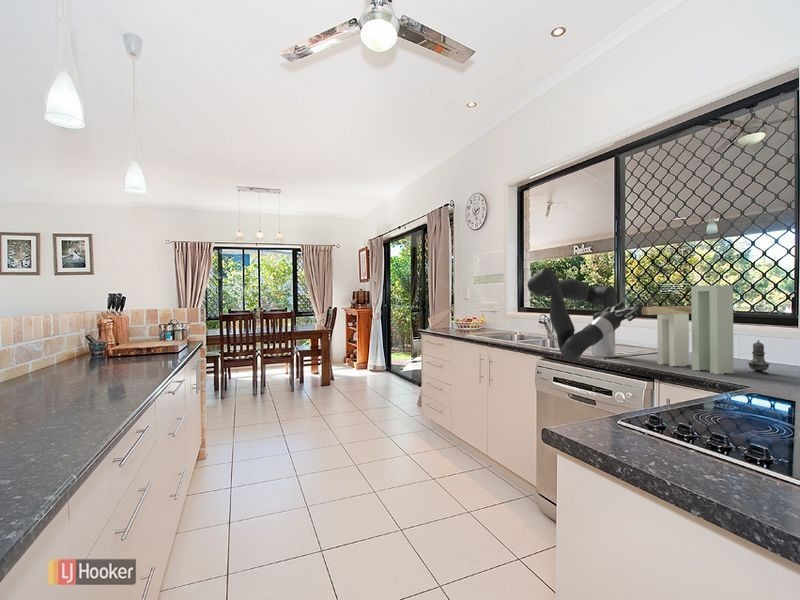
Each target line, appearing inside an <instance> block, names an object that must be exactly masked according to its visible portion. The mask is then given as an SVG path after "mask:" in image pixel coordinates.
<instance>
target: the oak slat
mask: <svg viewBox="0 0 800 600" xmlns="http://www.w3.org/2000/svg"><path fill="white" fill-rule="evenodd" d="M660 314H689V315H690V314H692V308H691V305H675V306H673V305H672V306H671V305H669V306H667V305H665V306H644V307H643V308H641V315H643V316H644V315H647V316H656V315H660Z"/></svg>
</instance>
